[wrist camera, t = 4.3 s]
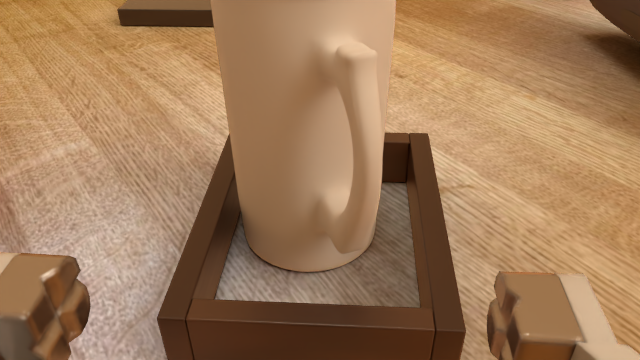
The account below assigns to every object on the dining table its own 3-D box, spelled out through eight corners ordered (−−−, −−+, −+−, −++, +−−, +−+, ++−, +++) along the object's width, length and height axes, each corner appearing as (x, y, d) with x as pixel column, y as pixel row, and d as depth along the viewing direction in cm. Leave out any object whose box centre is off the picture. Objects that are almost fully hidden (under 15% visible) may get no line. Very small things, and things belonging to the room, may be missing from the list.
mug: (226, 201, 28) (193, -47, 21) (349, 176, 30) (355, -61, 23) (280, 356, 20) (255, 44, 14) (441, 309, 22) (492, 12, 15)
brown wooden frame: (168, 364, 20) (155, 318, 19) (235, 167, 31) (230, 128, 29) (456, 378, 20) (466, 331, 18) (423, 172, 30) (428, 132, 29)
